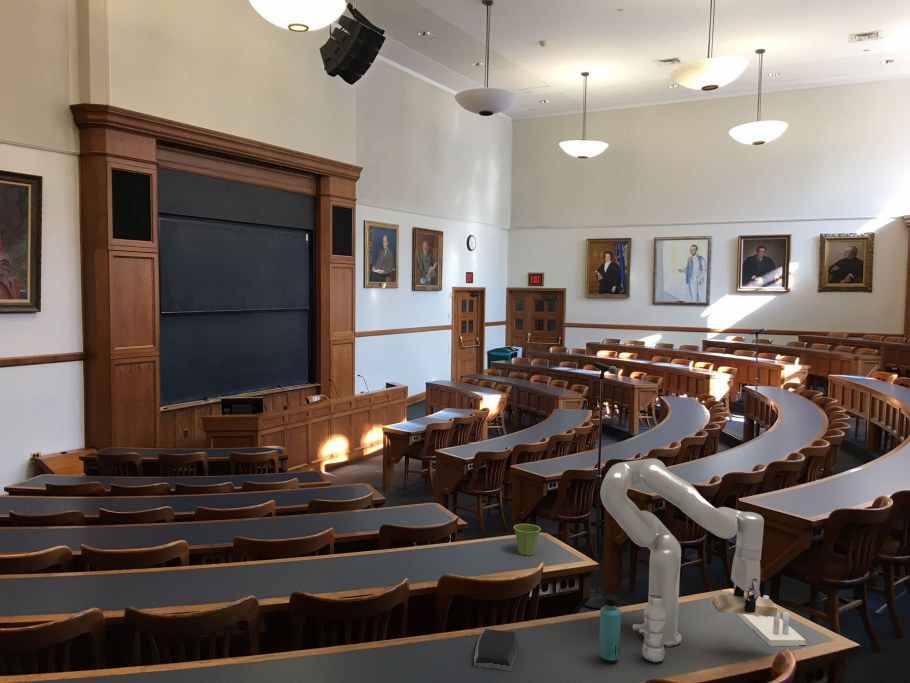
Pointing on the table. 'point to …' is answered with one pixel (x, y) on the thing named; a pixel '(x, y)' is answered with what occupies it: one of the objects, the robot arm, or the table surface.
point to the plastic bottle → (654, 629)
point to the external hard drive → (496, 647)
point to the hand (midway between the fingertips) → (743, 606)
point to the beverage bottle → (609, 629)
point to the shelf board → (743, 605)
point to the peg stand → (773, 629)
